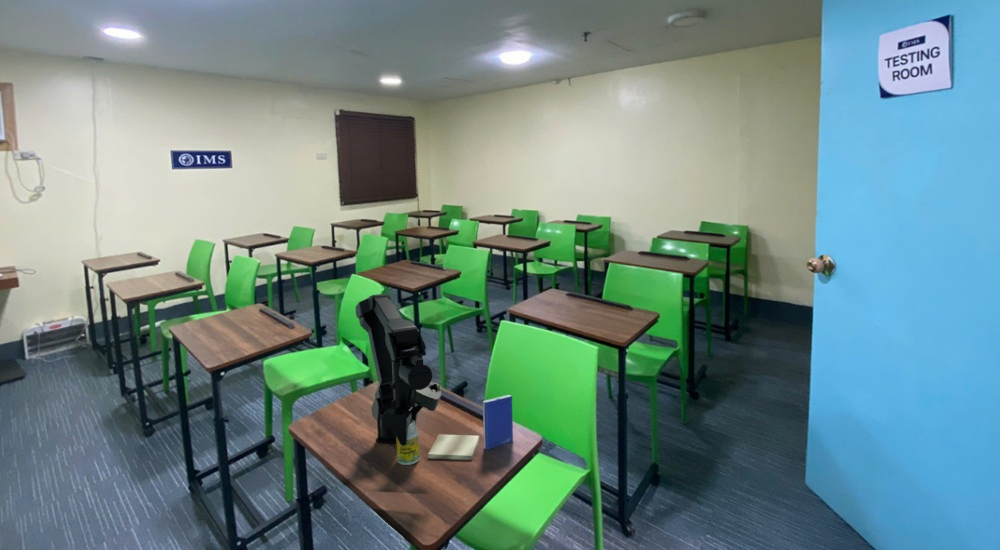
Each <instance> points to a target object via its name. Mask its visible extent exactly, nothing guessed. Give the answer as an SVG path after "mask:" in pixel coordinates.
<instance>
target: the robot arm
mask: <svg viewBox="0 0 1000 550" xmlns="http://www.w3.org/2000/svg"><path fill="white" fill-rule="evenodd" d="M355 316H356V318H357V319H358V321H359V326H361V328H362V329H363V330H364V331H366V332H367V334H368V339H369V344H370V348H371V353H372V357H373V362H374V366H375V367H374V368H375V371H376V377H377V382H378V384H377V387H376V390H375V392H374V401H373V402H372V404H371V405H372V406H371V415H372V417H373V419H375V420H376V423H377V424H376V425H377V437H376V439H375V442H376V443H387V444H388V443H390V444H391V443H392V444H394V443H395V444H397V442H396V437H397V439H398V440H399V442H400V444H401V445H402V446H405V445H406V443H407V434H408V426H409V425H410V424H411V423H412V421H413V420H414V421H415V426H416V424H417V419H418V416H419V413H420V411H421V410H422V409H423V408H424V409H427V410H428V411H431V412H434V411H436V409H437V408H438V406H439V403H440V401H441V397H443V395H442V394H443V391H441V388H440V383H437V382H432V380H433V372H432V369H431V368H430V367H429V366H428V365H427V364H425V363H424V359H423V358H422V357H424V356H427V351H426V349H427V346H426V344H425V342H424V338H423V336H422V334H421V332H420V330H419V329H418V328H417V326H416V325H415V324H414V323H413V322H412V321H410V320H408V319H404V318H403V317H402V316H401V314H400V312H399V311H398V310H397V307H395V305H394V304H393V302H392V300H391V296H390V295H389V294H387V293H380V294H372V295H370V296H368V297H367V298H366V299H363V300H360V301H359V302H358V303H357V304H356V305H355ZM431 383H432V384H431Z"/></svg>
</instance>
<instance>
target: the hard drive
mask: <svg viewBox="0 0 1000 550" xmlns="http://www.w3.org/2000/svg"><path fill="white" fill-rule="evenodd" d="M482 416H483V417H482V419H483V420H482V421H483V448H484V450H490V449H493V448H496V447H500V446H503V445H507V444H510V443H513V442H514V436H513V435H514V433H513V432H514V425H513V395H510V394H507V395H502V396H498V397H494V398H489V399H486V400H483V401H482Z"/></svg>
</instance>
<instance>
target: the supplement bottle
mask: <svg viewBox="0 0 1000 550" xmlns="http://www.w3.org/2000/svg"><path fill="white" fill-rule="evenodd" d="M419 435H420V434H419V431H418V429H417V428H416V425H415V421H414V420H413V421H412V423H411V424H410V425H409V426H408V434H407V443H406V445H405V446H402V445H401V444H400V442H399V440H398V439H397V437H396V442H397V443H396V455H397V463H399V465H403V466H410V465H414V464H416V463H418V462H419V460H420V439H419V438H420V437H419Z"/></svg>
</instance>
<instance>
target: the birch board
mask: <svg viewBox="0 0 1000 550" xmlns="http://www.w3.org/2000/svg"><path fill="white" fill-rule="evenodd" d="M479 441H480V435H469V434H468V435H467V434H441V433H439V434H438V435H437V437H436V439H435V441H434V443H433V445H432V446H431V447H430V450H429V451H428V453H427V458H428V459H433V460H434V459H435V460H436V459H441V460H466V461H473V458H474V455H475V453H476V450H477V447H478V445H479Z"/></svg>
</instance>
